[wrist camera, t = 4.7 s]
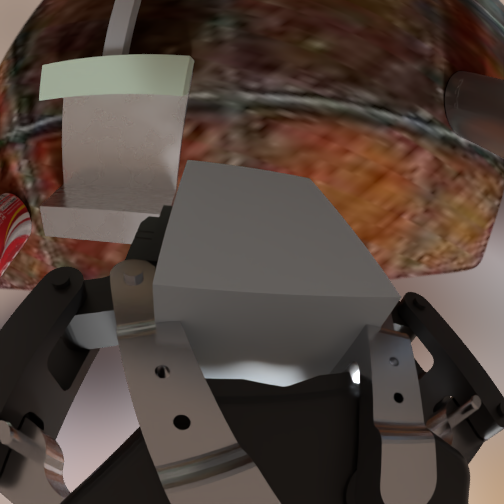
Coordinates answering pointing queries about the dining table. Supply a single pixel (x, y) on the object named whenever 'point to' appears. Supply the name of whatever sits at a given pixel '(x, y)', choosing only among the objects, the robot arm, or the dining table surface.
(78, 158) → the frame
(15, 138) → the dining table surface
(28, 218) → the soda can
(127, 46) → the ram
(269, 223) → the block
